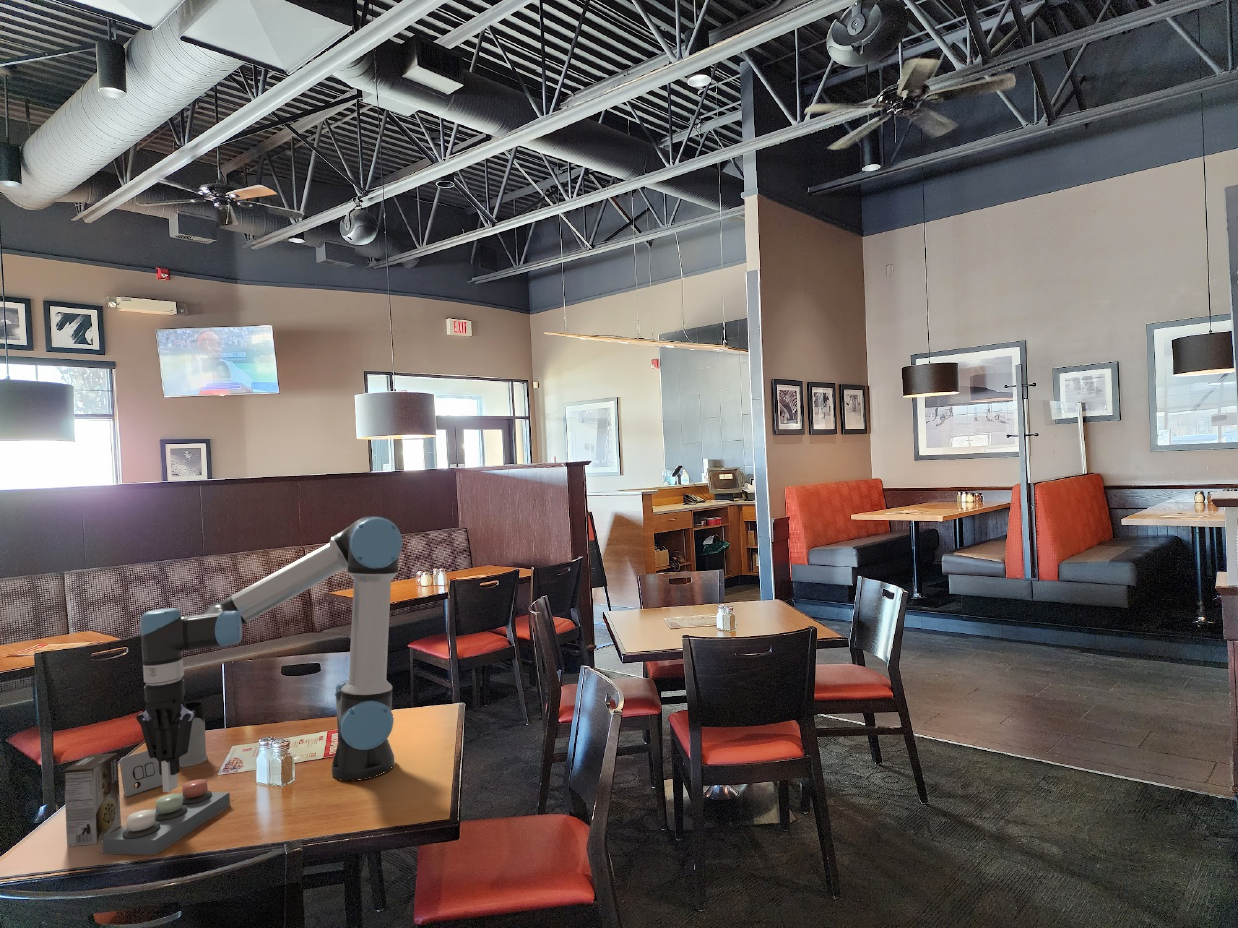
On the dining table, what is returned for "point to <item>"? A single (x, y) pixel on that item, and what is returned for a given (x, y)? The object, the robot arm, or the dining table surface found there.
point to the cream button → (140, 820)
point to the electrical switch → (139, 773)
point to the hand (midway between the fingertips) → (170, 788)
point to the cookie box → (92, 799)
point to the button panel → (167, 826)
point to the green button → (169, 803)
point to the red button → (194, 788)
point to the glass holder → (195, 738)
